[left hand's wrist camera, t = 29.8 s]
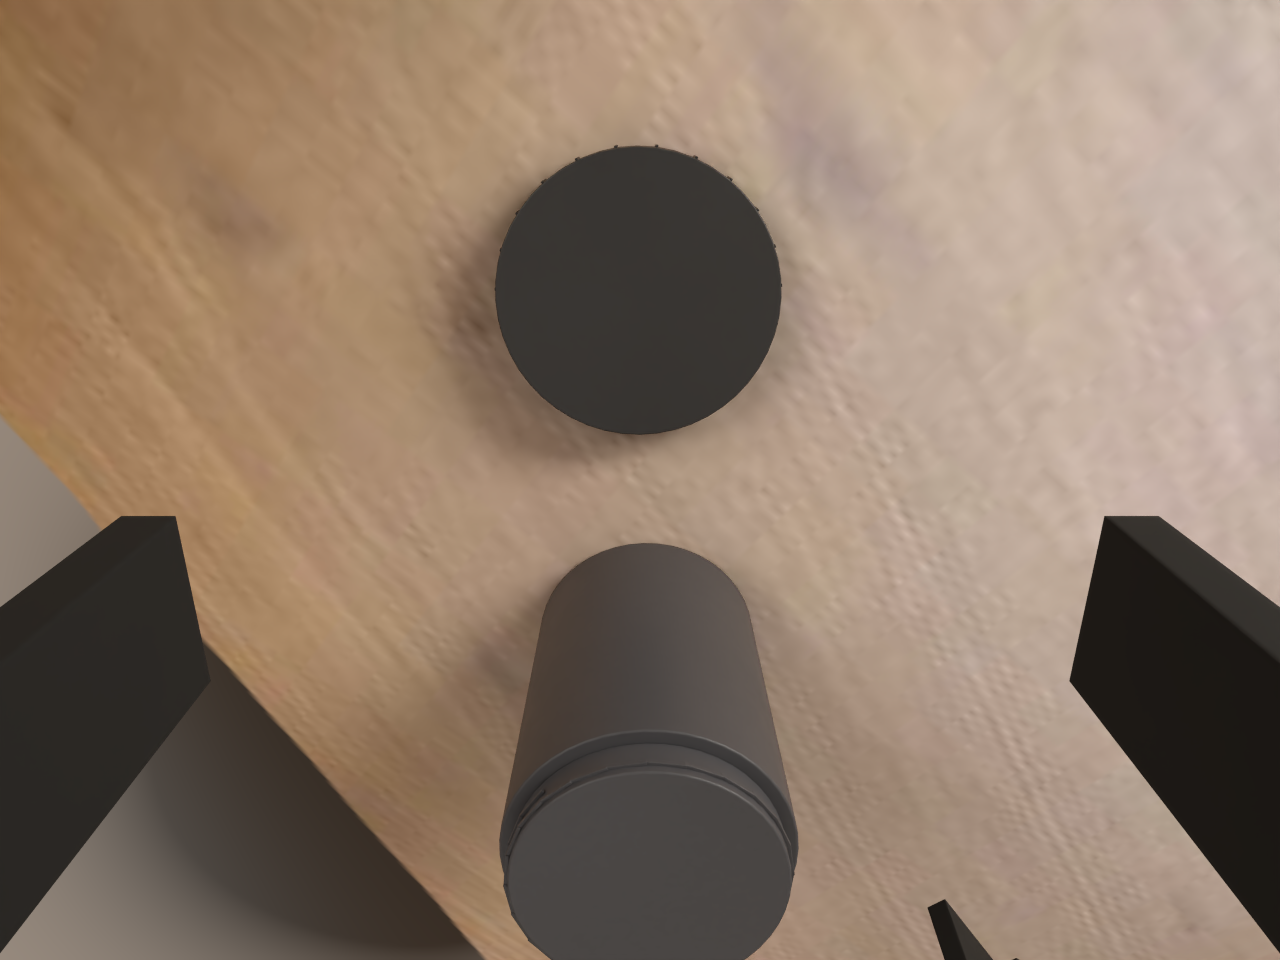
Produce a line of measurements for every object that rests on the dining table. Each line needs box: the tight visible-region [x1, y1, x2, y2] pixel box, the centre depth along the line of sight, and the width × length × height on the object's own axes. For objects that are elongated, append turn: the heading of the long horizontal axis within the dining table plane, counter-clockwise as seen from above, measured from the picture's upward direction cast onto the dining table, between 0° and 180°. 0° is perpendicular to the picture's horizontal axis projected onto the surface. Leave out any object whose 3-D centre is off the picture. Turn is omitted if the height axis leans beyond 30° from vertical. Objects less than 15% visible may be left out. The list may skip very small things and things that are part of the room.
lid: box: [495, 144, 782, 435], centre depth 36 cm, size 12×12×2 cm
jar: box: [499, 543, 798, 960], centre depth 36 cm, size 10×10×15 cm
